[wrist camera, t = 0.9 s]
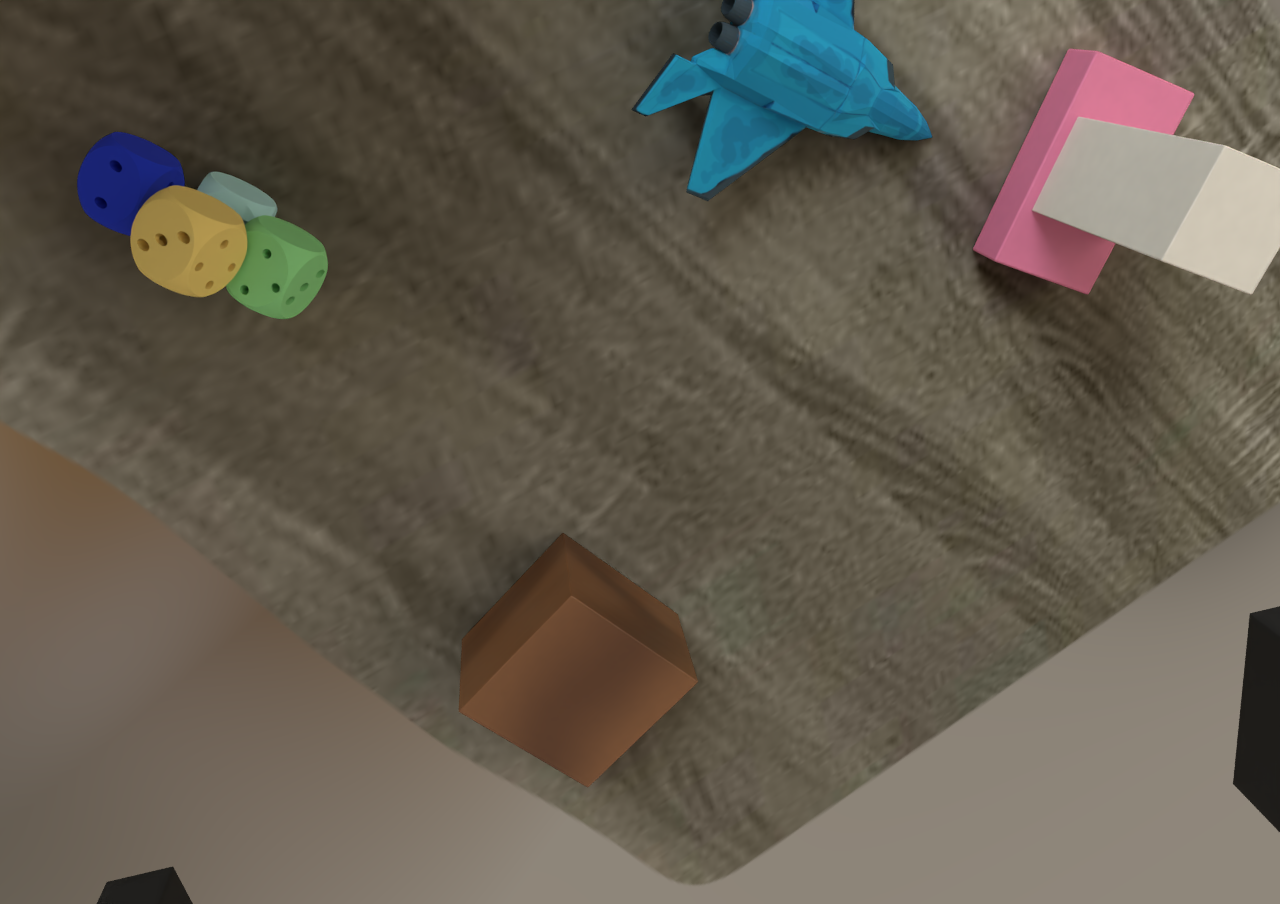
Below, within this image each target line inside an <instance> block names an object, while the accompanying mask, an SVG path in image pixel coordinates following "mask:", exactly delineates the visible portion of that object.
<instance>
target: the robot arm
mask: <svg viewBox="0 0 1280 904" xmlns="http://www.w3.org/2000/svg"><path fill="white" fill-rule="evenodd" d="M1233 784H1234V785H1235V786H1236V787H1237V788H1238V789H1239V790H1240V791H1241V792H1242V793H1243V794H1244V796H1245V797H1246V798H1247V799H1248V800H1250V802H1251V803H1252V804H1253V805H1254V806H1255V807H1256V808H1257V809H1258V810H1259V811H1260V812H1261V813H1262V814H1263V815H1264V816H1265V817H1266V818H1267V819H1268V820H1269V822H1270V823H1271V824H1273V826H1274V827H1275V828H1276V829H1277V830H1278V831H1279V832H1280V606H1279V607H1276V608H1271V609H1267V610H1262V611H1258V612H1254V613H1250V618H1249V628H1248V638H1247V649H1246V658H1245V668H1244V679H1243V689H1242V699H1241V709H1240V719H1239V729H1238V739H1237V750H1236V759H1235V770H1234V780H1233ZM97 904H193V903H192V902H191V900H190V898H189V896H188V894H187V892H186V890H185V888H184V886H183V885H182V883H181V881H180V879H179V877H178V875H177V873H176V871H175V870H174V868H173V867H169V868H165V869H161V870H156V871H152V872H148V873H144V874H139V875H135V876H131V877H127V878H122V879H118V880H114V881H110V882H107V883H106V885H105V887H104V889H103V891H102V894H101V896H100V898H99V900H98V902H97Z"/></svg>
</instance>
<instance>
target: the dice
mask: <svg viewBox="0 0 1280 904" xmlns="http://www.w3.org/2000/svg"><path fill="white" fill-rule="evenodd" d="M77 189H78V196H79V200H80V203H81V206H82V208H83V210H84V212H85V213H86V214H87V215H88V216H89V217H90V218H92V219H93V220H95V221H96V222H98V223H99V224H101V225H103V226H105V227H107V228H109V229H111V230H114V231H116V232H119V233H122V234H125V235H128V236H131V241H130V242H131V250H132V255H133V258H134V261H135V263H136V265H137V267H138V269H139V270H140V271H141V272H142V273H143V274H144V275H145V276H146V277H147V278H149V279H150V280H152V281H153V282H155V283H157V284H159V285H161V286H163V287H165V288H167V289H169V290H172V291H174V292H177V293H180V294H183V295H187V296H192V297H206V296H209V295H212V294H214V293H216V292H218V291H219V290H221V289H222V288H224V287H225V286H226V288H227V291H228V292H229V294H230V295H231V296H232V297H233V298H234V299H236V300H237V301H238V302H240V303H241V304H243V305H244V306H246V307H248V308H249V309H251V310H253V311H256V312H258V313H260V314H263V315H266V316H269V317H272V318H277V319H289V318H292V317H294V316H296V315H298V314H299V313H300V312H302V311H303V310H304V309H305V308H306V307H307V306H308V305H309V304H310V303H311V301H312V300H313V299H314V297H315V296H316V294H317V293H318V291H319V290H320V288H321V286H322V284H323V282H324V279H325V277H326V273H327V269H328V260H327V255H326V251H325V248H324V246H323V245H322V243H321V242H320V241H319V240H318V239H316V238H315V237H314V236H312V235H311V234H310V233H308V232H306V231H305V230H303V229H301V228H300V227H298V226H296V225H294V224H292V223H289V222H287V221H285V220H282V219H279V218H276V217H275V216H276V213H277V206H276V203H275V201H274V200H273V199H272V198H271V197H270V196H268V195H267V194H266V193H264V192H263V191H261V190H260V189H258V188H256V187H255V186H253V185H251V184H249V183H247V182H245V181H243V180H241V179H239V178H236V177H234V176H231V175H228V174H225V173H221V172H210V173H208V174H207V175H206V177H205V178H204V179H203V181H202V182H201V184H200V186H199V187H198V189H197V190H195V189H192V188H188V187H185V181H184V174H183V170H182V167H181V164H180V162H179V160H178V159H177V158H176V157H175V156H173V155H172V154H171V153H169V152H168V151H166V150H165V149H163V148H161V147H159V146H158V145H156V144H154V143H152V142H150V141H147V140H145V139H143V138H140V137H137V136H135V135H131V134H128V133H123V132H114V133H111V134H109V135H106V136H105V137H103V138H102V139H100V140H99V141H98V142H97V143H96V144H95V145H94V146H93V147H92V148H91V149H90V151H89V152H88V154H87V155H86V157H85V158H84V160H83V162H82V165H81V167H80V170H79V173H78V179H77Z"/></svg>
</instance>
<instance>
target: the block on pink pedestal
mask: <svg viewBox="0 0 1280 904" xmlns="http://www.w3.org/2000/svg"><path fill="white" fill-rule="evenodd" d="M1193 97H1194V94H1193V93H1192V92H1190V91H1188V90H1186V89H1183V88H1181V87H1179V86H1176V85H1174V84H1172V83H1170V82H1167V81H1165V80H1163V79H1160V78H1158V77H1156V76H1154V75H1151V74H1149V73H1147V72H1144V71H1142V70H1140V69H1138V68H1135V67H1133V66H1131V65H1128V64H1126V63H1124V62H1122V61H1119V60H1117V59H1115V58H1112V57H1110V56H1108V55H1106V54H1103V53H1101V52H1099V51H1089V50H1078V49H1069V50H1068V51H1067V53H1066V55H1065V57H1064V59H1063V61H1062V63H1061V65H1060V68H1059V70H1058V72H1057V74H1056V76H1055V78H1054V80H1053V82H1052V84H1051V86H1050V88H1049V91H1048V93H1047V95H1046V97H1045V99H1044V101H1043V103H1042V105H1041V107H1040V109H1039V112H1038V114H1037V116H1036V118H1035V120H1034V122H1033V124H1032V126H1031V128H1030V130H1029V132H1028V135H1027V137H1026V139H1025V141H1024V143H1023V145H1022V147H1021V149H1020V151H1019V153H1018V155H1017V158H1016V160H1015V162H1014V164H1013V166H1012V168H1011V170H1010V172H1009V174H1008V176H1007V178H1006V181H1005V183H1004V185H1003V187H1002V189H1001V191H1000V193H999V195H998V197H997V199H996V202H995V204H994V206H993V208H992V210H991V212H990V214H989V216H988V218H987V220H986V222H985V225H984V227H983V229H982V231H981V233H980V235H979V237H978V239H977V241H976V243H975V245H974V248H973V250H974V251H975V252H977V253H979V254H981V255H983V256H985V257H987V258H989V259H991V260H993V261H995V262H997V263H1000V264H1003V265H1006V266H1008V267H1011V268H1014V269H1017V270H1020V271H1022V272H1025V273H1028V274H1031V275H1034V276H1036V277H1039V278H1042V279H1045V280H1048V281H1050V282H1053V283H1056V284H1059V285H1062V286H1064V287H1067V288H1070V289H1073V290H1076V291H1078V292H1081V293H1084V294H1089V293H1090V291H1091V289H1092V287H1093V285H1094V283H1095V281H1096V279H1097V278H1098V276H1099V274H1100V272H1101V270H1102V268H1103V266H1104V264H1105V262H1106V261H1107V259H1108V257H1109V255H1110V253H1111V251H1112V249H1113V247H1114V246H1115V244H1118V245H1121V246H1123V247H1126V248H1129V249H1131V250H1134V251H1136V252H1139V253H1141V254H1144V255H1147V256H1149V257H1152V258H1154V259H1157V260H1159V261H1162V262H1165V263H1167V264H1170V265H1173V266H1175V267H1178V268H1181V269H1183V270H1186V271H1188V272H1191V273H1194V274H1196V275H1199V276H1202V277H1204V278H1207V279H1210V280H1212V281H1215V282H1218V283H1220V284H1223V285H1226V286H1228V287H1231V288H1234V289H1236V290H1239V291H1241V292H1244V293H1247V294H1249V295H1250V294H1252V293H1253V292H1254V290H1255V288H1256V286H1257V285H1258V283H1259V281H1260V280H1261V278H1262V276H1263V275H1264V273H1265V271H1266V270H1267V268H1268V266H1269V265H1270V263H1271V261H1272V260H1273V258H1274V256H1275V255H1276V253H1277V251H1278V250H1279V248H1280V168H1277V167H1275V166H1273V165H1270V164H1268V163H1265V162H1263V161H1261V160H1258V159H1256V158H1254V157H1251V156H1249V155H1247V154H1244V153H1242V152H1240V151H1237V150H1235V149H1233V148H1230V147H1228V146H1225V145H1220V144H1215V143H1210V142H1205V141H1200V140H1195V139H1190V138H1185V137H1180V136H1175V135H1174V133H1175V131H1176V129H1177V127H1178V125H1179V123H1180V121H1181V119H1182V118H1183V116H1184V114H1185V112H1186V110H1187V108H1188V106H1189V104H1190V103H1191V101H1192V99H1193Z"/></svg>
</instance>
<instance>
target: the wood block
mask: <svg viewBox="0 0 1280 904" xmlns="http://www.w3.org/2000/svg"><path fill="white" fill-rule="evenodd" d="M697 683H698V680H697V676H696V673H695V670H694V667H693V663H692V660H691V657H690V653H689V650H688V647H687V643H686V640H685V637H684V634H683V630H682V627H681V624H680V620H679V617H678V614H677V613H675V612H674V611H672V610H671V609H670V608H668V607H667V606H665V605H664V604H663V603H661V602H660V601H658V600H657V599H655V598H654V597H653V596H651V595H650V594H648V593H647V592H646V591H644V590H643V589H641V588H640V587H639V586H637V585H636V584H634V583H633V582H632V581H630V580H629V579H627V578H626V577H625V576H623V575H622V574H620V573H619V572H617V571H616V570H615V569H613V568H612V567H610V566H609V565H608V564H606V563H605V562H603V561H602V560H601V559H599V558H598V557H596V556H595V555H594V554H592V553H591V552H589V551H588V550H587V549H585V548H584V547H582V546H581V545H580V544H578V543H577V542H575V541H574V540H572V539H571V538H570V537H568V536H567V535H565V534H564V533H562V534H561V535H560V536H559V537H558V538H557V539H556V541H555V542H554V543H553V544H552V545H551V546H550V547H549V548H548V549H547V550H546V551H545V552H544V553H543V554H542V555H541V556H540V557H539V559H538V560H537V561H536V562H535V563H534V564H533V565H532V566H531V567H530V568H529V569H528V570H527V571H526V572H525V573H524V574H523V575H522V576H521V578H520V579H519V580H518V581H517V582H516V583H515V584H514V585H513V586H512V587H511V588H510V589H509V590H508V591H507V592H506V593H505V594H504V595H503V597H502V598H501V599H500V600H499V601H498V602H497V603H496V604H495V605H494V606H493V607H492V608H491V609H490V610H489V611H488V612H487V613H486V614H485V616H484V617H483V618H482V619H481V620H480V621H479V622H478V623H477V624H476V625H475V626H474V627H473V628H472V629H471V630H470V631H469V632H468V633H467V635H466V636H465V637H464V638H463V639H462V651H461V673H460V695H459V712H460V713H462V714H464V715H465V716H467V717H469V718H470V719H472V720H474V721H475V722H477V723H479V724H481V725H482V726H484V727H486V728H487V729H489V730H491V731H492V732H494V733H496V734H498V735H499V736H501V737H503V738H504V739H506V740H508V741H509V742H511V743H513V744H515V745H516V746H518V747H520V748H521V749H523V750H525V751H526V752H528V753H530V754H532V755H533V756H535V757H537V758H538V759H540V760H542V761H543V762H545V763H547V764H549V765H550V766H552V767H554V768H555V769H557V770H559V771H560V772H562V773H564V774H566V775H567V776H569V777H571V778H572V779H574V780H576V781H577V782H579V783H581V784H583V785H584V786H586V787H589V786H590V785H591V784H592V783H593V782H594V781H595V780H596V779H597V778H598V777H599V776H601V775H602V774H603V773H604V772H605V771H606V770H607V769H608V768H609V767H610V766H611V765H612V764H613V763H614V762H615V761H616V760H617V759H618V758H619V757H620V756H621V755H622V754H624V753H625V752H626V751H627V750H628V749H629V748H630V747H631V746H632V745H633V744H634V743H635V742H636V741H637V740H638V739H639V738H640V737H641V736H642V735H643V734H644V733H645V732H647V731H648V730H649V729H650V728H651V727H652V726H653V725H654V724H655V723H656V722H657V721H658V720H659V719H660V718H661V717H662V716H663V715H664V714H665V713H666V712H667V711H668V710H669V709H671V708H672V707H673V706H674V705H675V704H676V703H677V702H678V701H679V700H680V699H681V698H682V697H683V696H684V695H685V694H686V693H687V692H688V691H689V690H690V689H691V688H692V687H694V686H695V685H696V684H697Z"/></svg>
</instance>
